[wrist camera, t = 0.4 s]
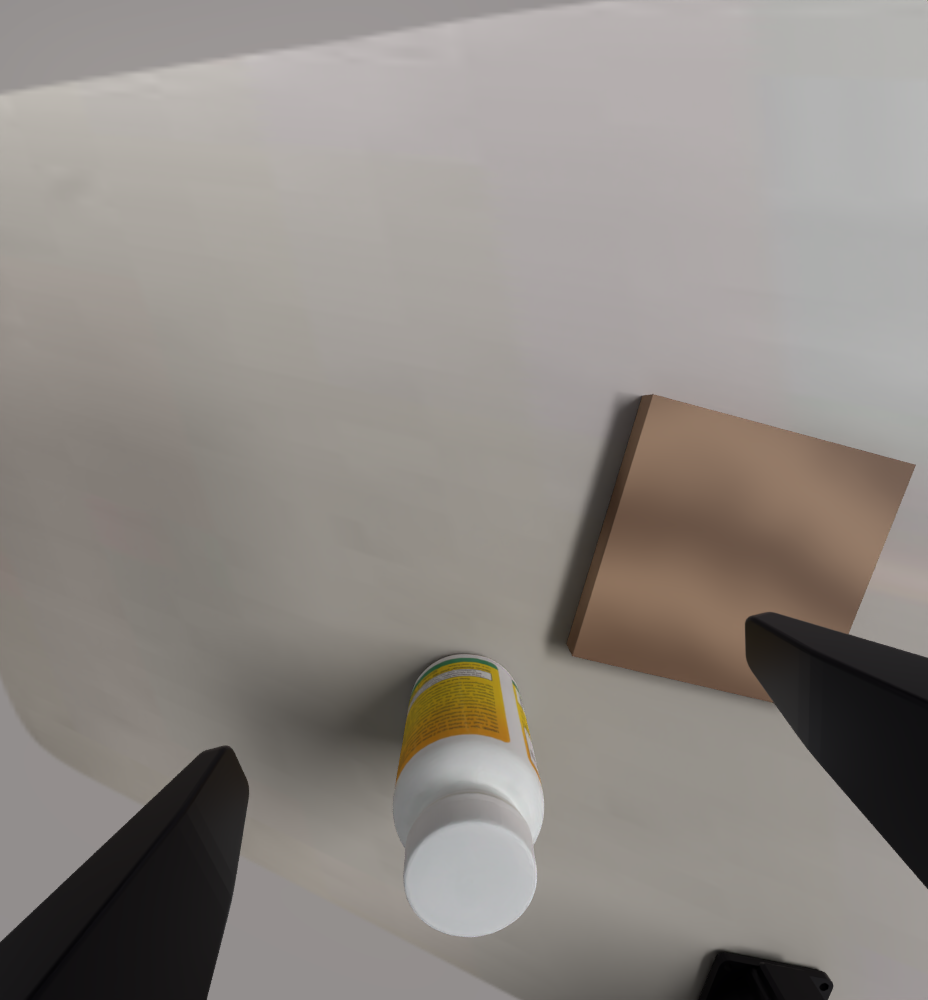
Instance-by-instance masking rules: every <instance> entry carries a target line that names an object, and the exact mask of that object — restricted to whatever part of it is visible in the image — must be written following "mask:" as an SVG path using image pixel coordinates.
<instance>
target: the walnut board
mask: <svg viewBox="0 0 928 1000" xmlns="http://www.w3.org/2000/svg"><path fill="white" fill-rule="evenodd" d="M915 466H916V465H914V464H910V463H907V462H903V461H899V460H895V459H892V458H888V457H884V456H881V455H877V454H873V453H869V452H866V451H862V450H858V449H855V448H851V447H847V446H843V445H840V444H836V443H832V442H828V441H825V440H821V439H817V438H814V437H810V436H806V435H802V434H799V433H795V432H791V431H788V430H784V429H780V428H776V427H773V426H769V425H765V424H762V423H758V422H754V421H750V420H747V419H743V418H739V417H735V416H732V415H728V414H724V413H721V412H717V411H713V410H709V409H706V408H702V407H698V406H695V405H691V404H687V403H683V402H680V401H676V400H672V399H669V398H665V397H661V396H657V395H654V394H652V395H644V396H642V399H641V402H640V405H639V409H638V412H637V415H636V418H635V422H634V425H633V428H632V431H631V435H630V438H629V441H628V444H627V448H626V451H625V454H624V458H623V461H622V464H621V467H620V471H619V474H618V477H617V480H616V484H615V487H614V490H613V494H612V497H611V500H610V503H609V507H608V510H607V513H606V516H605V520H604V523H603V526H602V530H601V533H600V536H599V539H598V543H597V546H596V549H595V552H594V556H593V559H592V562H591V566H590V569H589V572H588V575H587V579H586V582H585V585H584V588H583V592H582V595H581V598H580V601H579V605H578V608H577V611H576V615H575V618H574V621H573V624H572V628H571V631H570V634H569V637H568V641H567V646H568V648H569V650H570V652H571V654H572V656H574V657H579V658H583V659H587V660H592V661H596V662H600V663H605V664H609V665H613V666H618V667H622V668H626V669H631V670H635V671H639V672H643V673H648V674H652V675H656V676H661V677H665V678H669V679H674V680H678V681H682V682H687V683H691V684H695V685H700V686H704V687H708V688H713V689H717V690H721V691H725V692H730V693H734V694H738V695H743V696H747V697H751V698H756V699H760V700H764V701H769V702H773V701H772V699H771V698H770V697H769V695H768V694H767V692H766V691H765V690H764V688H763V687H762V685H761V684H760V682H759V681H758V680H757V678H756V677H755V675H754V674H753V673H752V671H751V670H750V668H749V666H748V663H747V660H746V655H745V621H746V619H747V618H748V617H749V616H752V615H756V614H760V613H764V612H775V613H778V614H781V615H785V616H788V617H792V618H795V619H798V620H802V621H805V622H808V623H812V624H815V625H819V626H822V627H825V628H829V629H832V630H835V631H839V632H842V633H846V634H849V631H850V629H851V626H852V624H853V621H854V619H855V616H856V614H857V611H858V609H859V606H860V604H861V601H862V599H863V596H864V594H865V591H866V589H867V586H868V584H869V581H870V579H871V576H872V574H873V571H874V569H875V566H876V564H877V561H878V559H879V556H880V554H881V551H882V549H883V546H884V543H885V541H886V538H887V536H888V533H889V531H890V528H891V526H892V523H893V521H894V518H895V516H896V513H897V511H898V508H899V506H900V503H901V501H902V498H903V496H904V493H905V491H906V488H907V486H908V483H909V481H910V478H911V476H912V473H913V471H914V468H915ZM773 703H774V702H773Z"/></svg>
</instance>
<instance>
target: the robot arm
mask: <svg viewBox="0 0 928 1000" xmlns="http://www.w3.org/2000/svg"><path fill="white" fill-rule="evenodd" d="M745 655H746V660H747V663H748V666H749V668H750V670H751V671H752V673H753V674H754V675H755V677H756V678H757V680H758V681H759V682H760V684H761V685H762V687H763V688H764V690H765V691H766V692H767V694H768V695H769V697H770V698H771V699H772V701H773V702H774V704H775V705H776V706H777V708H778V709H779V711H780V712H781V713H782V715H783V716H784V718H785V719H786V720H787V722H788V723H789V725H790V726H791V727H792V729H793V730H794V732H795V733H796V734H797V736H798V737H799V738H800V740H801V741H802V742H803V744H804V745H805V746H806V748H807V749H808V750H809V752H810V753H811V754H812V755H813V756H814V758H815V759H816V760H817V761H818V762H819V764H820V765H821V766H822V767H823V768H824V769H825V771H826V772H827V773H828V774H829V775H830V776H831V777H832V779H833V780H834V781H835V782H836V783H837V784H838V786H839V787H840V788H841V789H842V790H843V791H844V793H845V794H846V795H847V796H848V797H849V798H850V799H851V801H852V802H853V803H854V804H855V805H856V806H857V808H858V809H859V810H860V811H861V812H862V813H863V815H864V816H865V817H866V818H867V819H868V820H869V821H870V823H871V824H872V825H873V826H874V827H875V828H876V830H877V831H878V832H879V833H880V834H881V835H882V837H883V838H884V839H885V840H886V841H887V842H888V844H889V845H890V846H891V847H892V848H893V849H894V850H895V852H896V853H897V854H898V855H899V856H900V857H901V859H902V860H903V861H904V862H905V863H906V864H907V866H908V867H909V868H910V869H911V870H912V871H913V872H914V874H915V875H916V876H917V877H918V878H919V879H920V881H921V882H922V883H923V884H924V885H925V886H926V888H927V889H928V658H927V657H923V656H920V655H917V654H913V653H910V652H906V651H903V650H900V649H896V648H893V647H890V646H886V645H883V644H879V643H876V642H873V641H869V640H866V639H863V638H859V637H856V636H852V635H849V634H846V633H842V632H839V631H835V630H832V629H829V628H825V627H822V626H819V625H815V624H812V623H808V622H805V621H802V620H798V619H795V618H792V617H788V616H785V615H781V614H778V613H775V612H764V613H760V614H756V615H752V616H749V617H748V618H747V619H746V621H745ZM248 799H249V786H248V781H247V779H246V776H245V774H244V772H243V770H242V768H241V766H240V763H239V761H238V759H237V757H236V755H235V753H234V751H233V749H232V748H231V747H229V746H221V747H217V748H213V749H209V750H205V751H203V752H202V753H200V754H199V755H198V756H197V757H196V758H195V759H194V760H193V761H192V762H191V763H190V764H189V765H188V766H187V767H185V768H184V769H183V770H182V771H181V772H180V773H179V774H178V775H177V776H176V777H175V778H174V779H173V780H172V781H171V782H170V783H169V784H167V785H166V786H165V787H164V788H163V789H162V790H161V791H160V792H159V793H158V794H157V795H156V796H155V797H154V798H153V799H152V800H150V801H149V802H148V803H147V804H146V805H145V806H144V807H143V808H142V809H141V810H140V811H139V812H138V813H137V814H136V815H135V816H134V817H133V818H131V819H130V820H129V821H128V822H127V823H126V824H125V825H124V826H123V827H122V828H121V829H120V830H119V831H118V832H117V833H115V835H113V836H112V837H111V838H110V839H109V840H108V841H107V842H106V843H105V844H104V845H103V846H102V847H101V848H100V849H99V850H97V851H96V853H94V854H93V855H92V856H91V857H90V858H89V859H88V860H87V861H86V862H85V863H84V864H83V865H82V866H81V867H79V868H78V869H77V870H76V871H75V872H74V873H73V874H72V875H71V876H70V877H69V878H68V879H67V880H66V881H65V882H64V883H63V884H61V885H60V886H59V887H58V888H57V889H56V890H55V891H54V892H53V893H52V894H51V895H50V896H49V897H48V898H47V899H46V900H44V902H42V903H41V904H40V905H39V906H38V907H37V908H36V909H35V910H34V911H33V912H32V913H31V914H30V915H29V916H27V918H25V919H24V920H23V921H22V922H21V923H20V924H19V925H18V926H17V927H16V928H15V929H14V930H13V931H12V932H10V934H9V935H7V936H6V937H5V938H4V939H3V940H2V941H1V942H0V1000H207V996H208V992H209V988H210V984H211V980H212V976H213V973H214V969H215V965H216V961H217V957H218V953H219V949H220V945H221V941H222V938H223V934H224V930H225V925H226V922H227V918H228V914H229V909H230V905H231V901H232V896H233V891H234V886H235V880H236V874H237V868H238V861H239V855H240V849H241V843H242V836H243V830H244V824H245V817H246V811H247V805H248ZM832 989H833V983H832V981H831V980H830V978H829V977H828V975H827V974H826V973H825V972H823V971H818V970H813V969H808V968H803V967H798V966H793V965H788V964H783V963H778V962H773V961H768V960H763V959H757V958H752V957H747V956H742V955H737V954H732V953H727V952H723V953H720V954H719V955H717V956H716V958H715V960H714V963H713V965H712V968H711V970H710V973H709V975H708V978H707V980H706V983H705V985H704V988H703V990H702V993H701V995H700V998H699V1000H828V998H829V996H830V994H831V991H832Z"/></svg>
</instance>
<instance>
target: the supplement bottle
mask: <svg viewBox="0 0 928 1000" xmlns="http://www.w3.org/2000/svg"><path fill="white" fill-rule="evenodd" d="M543 815H544V796H543V790H542V786H541V781H540V776H539V772H538V768H537V763H536V759H535V755H534V750H533V746H532V742H531V738H530V734H529V729H528V725H527V720H526V716H525V711H524V707H523V703H522V699H521V696H520V692H519V689H518V687H517V685H516V683H515V681H514V679H513V678H512V676H511V675H510V674H509V673H508V671H507V670H506V669H505V668H504V667H502V666H501V665H500V664H498V663H497V662H495V661H493V660H491V659H489V658H487V657H483V656H479V655H472V654H458V655H451V656H447V657H445V658H442V659H440V660H438V661H436V662H435V663H433V664H432V665H430V666H429V667H428V668H427V669H425V671H424V672H423V673H422V674H421V675H420V676H419V678H418V679H417V681H416V682H415V685H414V687H413V690H412V693H411V697H410V701H409V707H408V713H407V719H406V724H405V730H404V736H403V743H402V749H401V754H400V759H399V766H398V772H397V778H396V785H395V791H394V798H393V816H394V823H395V827H396V831H397V833H398V836H399V838H400V841H401V842H402V844H403V846H404V847H405V862H404V875H403V877H404V889H405V893H406V897H407V900H408V902H409V904H410V906H411V907H412V909H413V911H414V912H415V913H416V914H417V916H418V917H419V918H420V919H421V920H422V921H423V922H425V923H426V924H427V925H429V926H430V927H432V928H434V929H436V930H438V931H440V932H442V933H445V934H449V935H453V936H461V937H479V936H483V935H488V934H492V933H494V932H496V931H499V930H501V929H503V928H505V927H506V926H508V925H510V924H511V923H513V922H514V921H515V920H517V919H518V918H519V917H520V916H521V915H522V914H523V912H524V911H525V910H526V908H527V907H528V906H529V904H530V902H531V900H532V898H533V895H534V892H535V889H536V884H537V868H536V861H535V855H534V848H533V845H534V843H535V841H536V839H537V837H538V835H539V832H540V829H541V826H542V822H543Z"/></svg>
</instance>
